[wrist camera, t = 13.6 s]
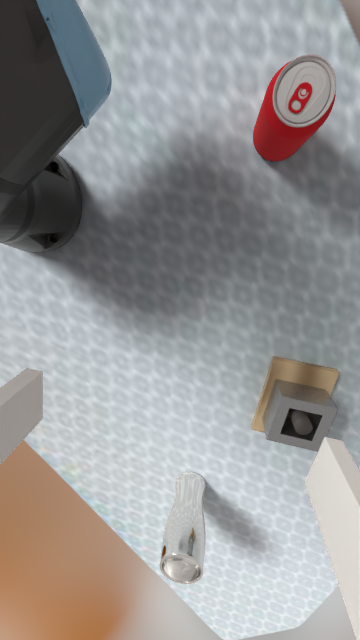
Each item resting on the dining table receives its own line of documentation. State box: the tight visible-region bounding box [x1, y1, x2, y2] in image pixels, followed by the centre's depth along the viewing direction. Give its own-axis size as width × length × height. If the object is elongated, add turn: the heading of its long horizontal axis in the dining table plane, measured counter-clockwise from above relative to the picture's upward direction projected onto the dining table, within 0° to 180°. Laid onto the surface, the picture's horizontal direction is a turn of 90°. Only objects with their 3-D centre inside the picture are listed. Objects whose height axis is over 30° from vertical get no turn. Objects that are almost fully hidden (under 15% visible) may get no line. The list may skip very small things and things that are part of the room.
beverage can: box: [253, 55, 336, 161], centre depth 29 cm, size 6×6×12 cm
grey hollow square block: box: [262, 379, 338, 451], centre depth 43 cm, size 8×8×5 cm
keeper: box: [252, 356, 339, 435], centre depth 43 cm, size 10×14×7 cm
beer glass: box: [160, 472, 206, 584], centre depth 49 cm, size 7×7×15 cm
